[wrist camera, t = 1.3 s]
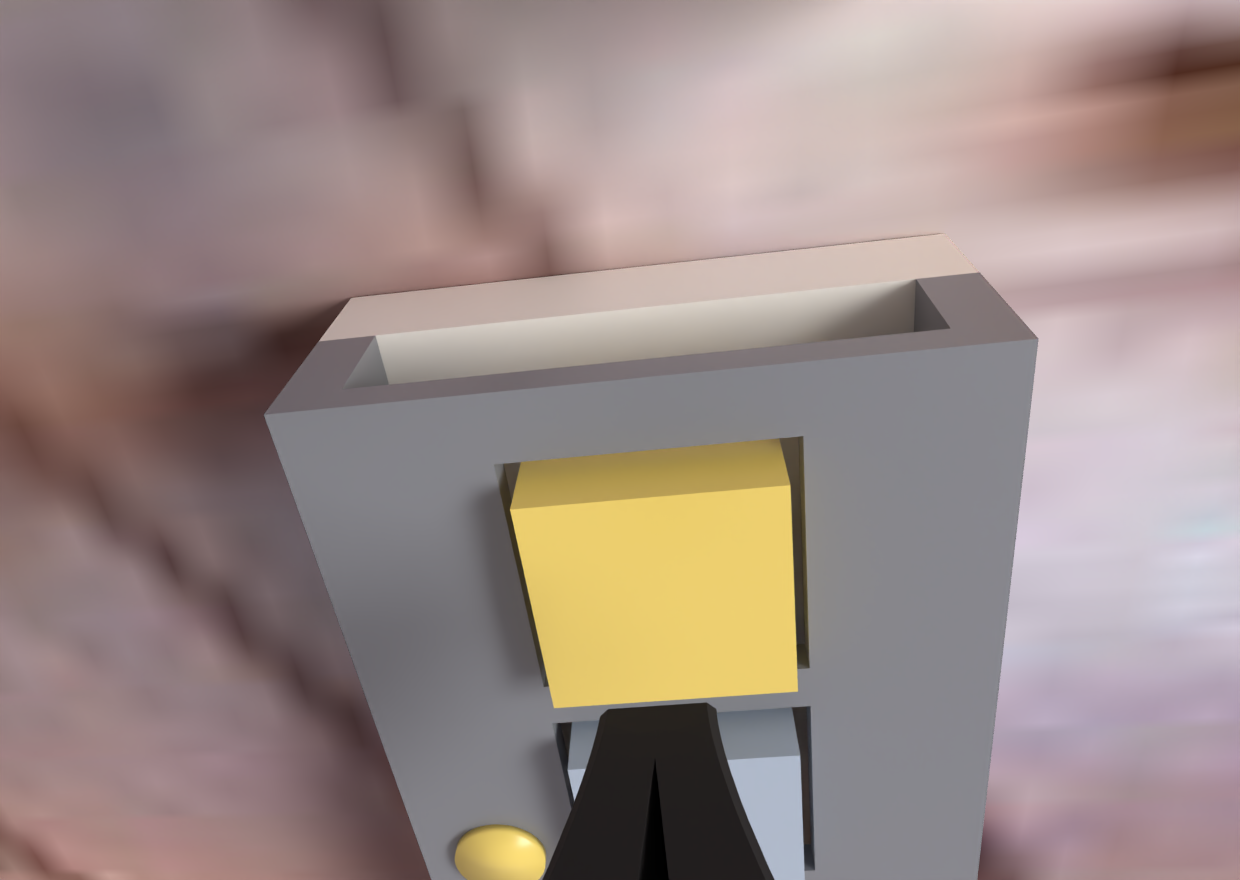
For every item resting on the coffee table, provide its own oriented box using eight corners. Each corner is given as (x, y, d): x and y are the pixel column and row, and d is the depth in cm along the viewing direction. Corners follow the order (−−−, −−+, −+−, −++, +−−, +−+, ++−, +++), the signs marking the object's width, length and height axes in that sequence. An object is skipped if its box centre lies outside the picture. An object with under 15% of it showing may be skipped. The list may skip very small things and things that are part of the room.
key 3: (792, 818, 19) (805, 899, 18) (602, 829, 20) (598, 909, 18) (786, 678, 17) (800, 755, 16) (574, 693, 18) (567, 769, 16)
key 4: (783, 617, 16) (798, 691, 15) (562, 633, 17) (554, 708, 15) (775, 422, 14) (790, 484, 13) (524, 445, 15) (510, 509, 13)
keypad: (903, 978, 28) (947, 1163, 24) (550, 993, 29) (533, 1173, 25) (945, 233, 17) (1043, 344, 12) (351, 297, 17) (258, 421, 13)
